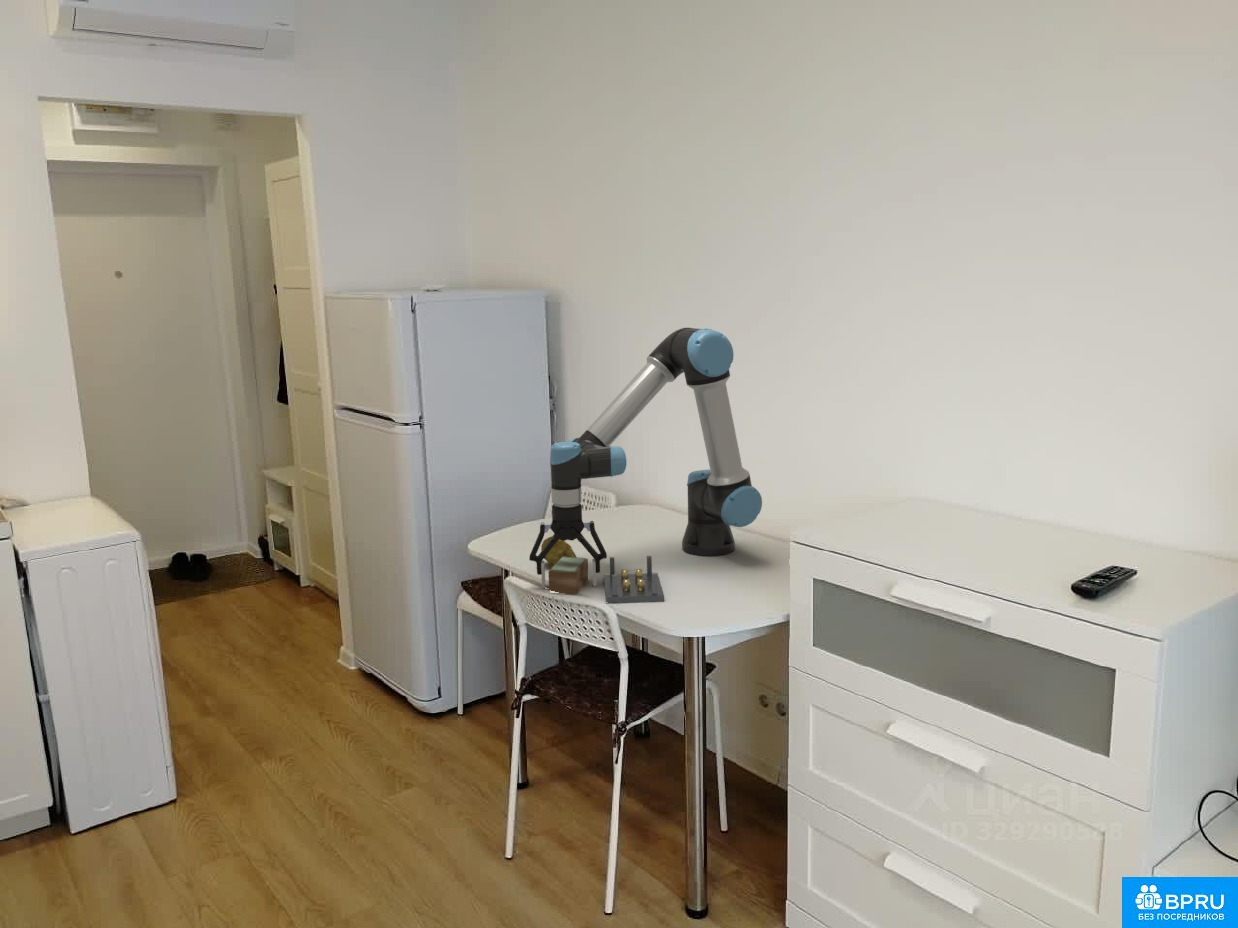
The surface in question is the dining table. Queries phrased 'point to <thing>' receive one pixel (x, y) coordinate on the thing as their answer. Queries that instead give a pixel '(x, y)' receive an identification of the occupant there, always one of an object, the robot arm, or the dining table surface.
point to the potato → (557, 551)
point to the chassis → (632, 585)
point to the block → (568, 575)
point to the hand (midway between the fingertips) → (569, 585)
